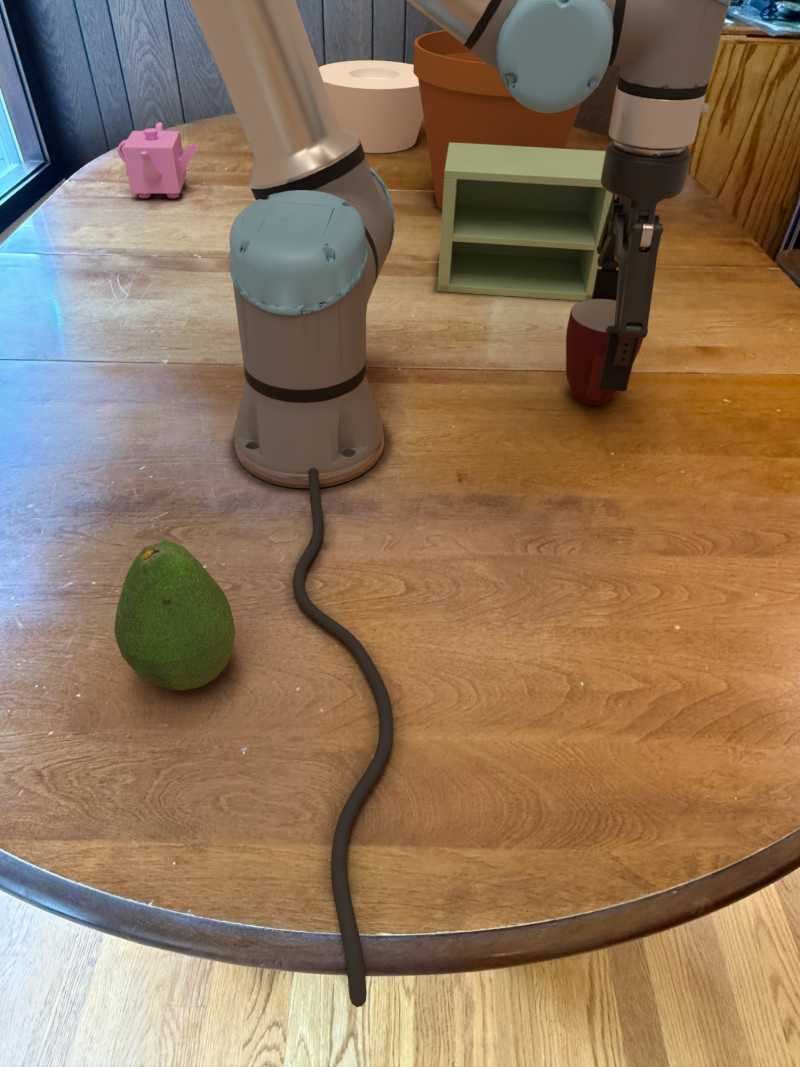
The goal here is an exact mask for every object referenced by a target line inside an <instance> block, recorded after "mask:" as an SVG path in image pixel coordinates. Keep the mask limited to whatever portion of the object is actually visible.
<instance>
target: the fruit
mask: <svg viewBox="0 0 800 1067" xmlns="http://www.w3.org/2000/svg"><path fill="white" fill-rule="evenodd" d="M115 612H116V613H115V619H114V620H115V621H114V628H113V629H114V636H115V640H116V645H117V647H118V649H119V652H120V654H121V657H122V658H123V659H124V660H125V662H126V663H127V664H128V666H129V667H130V668H131V669H132V670H133V671H134V673H136V675H137V676H138V677H140V678H142V679H143V680H145V681H146V682H147V683H148V682H149V683H150V684H153V685H155V686H158V687H160V688H164V689H166V690H174V691H187V690H192V689H193V690H194V689H197V688H200V687H203V686H205V685H206V684H208V683H210V682H212V681H213V680H215V679H216V678H217V677H218V676H219V675H220V674H221V673H222V671H224V669H225V668H226V667H227V665H228V663H229V661H230V658H231V656H232V653H233V650H234V649H233V648H234V643H235V634H236V627H235V626H236V625H235V620H234V615H233V612H232V607H231V604H230V601H229V600H228V598H227V595H226V594H225V592H224V591H223V589H222V587H221V586H220V585H219V583H218V582H217V581H216V579H214V578H213V576H212V575H211V574H210V573H209V572H208V570H207V569H206V568H205V567H204V565H203V564H202V563H201V562H200V561H199V559H197V558H196V557H195V556H194V555H193V554H192V553H191V552H190V551H189V549H187V548H186V546H184V545H181V544H178V543H177V542H176V543H175V542H173V541H170V540H167V539H164V540H161V541H159V542H157V543H154V544H151V545H147V546H144V547H143V548H142V549H141V550H140V552H139V554H138V555H136V557H135V558H134V560H133V562H132V564H131V565H130V567H129V569H128V570H127V573H126V575H125V579H124V581H123V585H122V587H121V591H120V594H119V599H118V602H117V607H116V611H115Z"/></svg>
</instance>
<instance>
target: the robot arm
mask: <svg viewBox="0 0 800 1067" xmlns="http://www.w3.org/2000/svg"><path fill="white" fill-rule="evenodd" d="M188 1H189V4H190V6H191V8H192V12H193V13H194V16H195V18H196V20H197V23H198V25H199V28H200V30H201V33H202V35H203V37H204V39H205V42H206V44H207V47H208V49H209V52H210V54H211V56H212V59H213V61H214V64H215V66H216V69H217V71H218V73H219V76H220V78H221V81H222V83H223V85H224V87H225V90H226V93H227V94H228V98H229V100H230V103H231V104H232V106H233V109H234V112H235V114H236V116H237V118H238V121H239V123H240V127H241V128H242V131H243V133H244V136H245V137H246V140H247V143H248V145H249V148H250V150H251V152H252V155H253V158H254V160H253V165H252V168H251V171H250V174H249V178H248V181H247V182H248V187H249V188H250V191H251V193H252V195H253V197H254V201H253V202H251V203H249V204H248V205H247V206H245V207H244V208H243V209H242V210H241V211H240V212H239V213H238V214H237V216H236V217H235V219H234V220H233V223H232V224H231V227H230V232H229V253H228V262H229V264H228V269H229V273H230V278H231V279H232V287H233V293H234V302H235V309H236V318H237V324H238V332H239V339H240V346H241V347H240V348H241V355H242V362H243V369H244V370H243V371H244V379H245V381H244V386H243V391H242V394H241V397H240V398H241V399H240V403H239V407H238V411H237V415H236V419H235V423H234V429H233V440H234V446H235V453H236V456H237V458H238V461H239V462H240V464H241V465H242V467H243V468H245V470H246V471H248V473H250V474H252V475H253V476H254V477H257V478H258V479H260V480H263V481H265V482H267V483H270V484H273V485H277V486H281V487H286V488H294V489H309V501H310V502H309V503H310V509H311V516H312V532H311V536H310V539H309V542H308V544H307V546H306V548H305V549H304V552H302V554H301V556H300V558H299V560H298V561H297V564H296V566H295V568H294V572H293V576H292V591H293V594H294V597H295V599H296V601H297V603H298V605H299V606H300V608H301V609H302V610H303V612H304V613H305V614H306V615H307V616H309V617H310V619H312V620H313V621H314V622H315V623H317V625H319V626H320V627H322V628H323V629H324V630H326V631H327V632H329V633H330V634H332V635H333V636H334V637H335V638H337V639H338V640H339V641H341V642H342V643H343V644H344V645H345V646H346V647H347V648H348V649H349V650H350V651H351V653H352V654H353V656H354V657H355V659H356V661H357V662H358V664H359V666H360V668H361V670H362V671H363V673H364V675H365V677H366V679H367V680H368V683H369V685H370V687H371V690H372V692H373V695H374V698H375V701H376V706H377V711H378V723H379V724H378V725H379V726H378V727H379V729H378V730H379V731H378V739H377V740H378V741H377V746H376V749H375V752H374V755H373V757H372V760H371V761H370V763H369V765H368V766H367V769H366V770H365V771H364V773H363V775H362V776H361V778H360V779H359V781H358V782H357V783H356V785H355V786H354V788H353V790H352V791H351V793H350V794H349V796H348V798H347V800H346V802H345V803H344V806H343V808H342V810H341V812H340V814H339V817H338V820H337V823H336V826H335V828H334V834H333V838H332V846H331V855H330V856H331V857H330V876H331V887H332V894H333V901H334V907H335V910H336V916H337V921H338V925H339V931H340V936H341V941H342V946H343V951H344V959H345V965H346V966H345V967H346V975H347V986H348V998H349V1000H350V1004H351V1005H353V1006H354V1007H356V1008H361V1007H363V1006H364V1005H365V1003H366V1002H367V998H368V993H367V992H368V990H367V980H366V970H365V961H364V954H363V948H362V942H361V937H360V932H359V927H358V922H357V918H356V914H355V910H354V906H353V905H354V904H353V900H352V896H351V890H350V884H349V875H348V850H349V849H348V848H349V847H348V846H349V841H350V840H349V839H350V835H351V830H352V827H353V824H354V820H355V819H356V816H357V814H358V812H359V811H360V808H361V807H362V805H363V803H364V802H365V800H366V798H367V797H368V795H369V793H370V792H371V790H372V789H373V787H374V786H375V784H376V782H377V781H378V779H379V777H380V776H381V774H382V773H383V770H384V769H385V766H386V764H387V762H388V760H389V756H390V754H391V749H392V745H393V738H394V737H393V736H394V715H393V708H392V703H391V699H390V695H389V692H388V689H387V686H386V684H385V681H384V680H383V678H382V675H381V674H380V672H379V670H378V668H377V666H376V665H375V663H374V661H373V660H372V658H371V656H370V654H369V653H368V651H367V650H366V649H365V647H364V646H363V644H362V643H361V642H360V641H359V640H358V638H356V636H355V635H353V633H351V631H349V630H348V629H347V628H345V626H343V625H342V624H340V623H339V622H338V621H336V620H335V619H333V618H332V617H331V616H329V615H327V614H326V613H325V612H323V611H322V610H321V609H320V608H318V606H316V605H315V604H314V603H313V601H312V600H311V599H310V597H309V595H308V593H307V590H306V585H305V576H306V574H307V571H308V569H309V567H310V565H311V563H312V561H313V559H314V558H315V557H316V555H317V552H318V551H319V548H320V546H321V544H322V539H323V535H324V527H325V526H324V523H325V522H324V512H323V507H322V498H321V497H322V496H321V488H327V487H332V486H336V485H340V484H343V483H346V482H349V481H351V480H354V479H356V478H358V477H360V476H362V475H364V474H365V473H366V472H367V471H369V470H370V469H371V468H372V467H374V465H375V464H376V463H377V462H378V461H379V459H380V457H381V456H382V454H383V452H384V447H385V425H384V422H383V418H382V414H381V413H380V410H379V407H378V405H377V402H376V399H375V396H374V394H373V390H372V388H371V386H370V383H369V380H368V378H367V310H368V304H369V301H370V298H371V296H372V292H373V289H374V288H375V286H376V283H377V280H378V278H379V276H380V274H381V271H382V269H383V266H384V264H385V262H386V260H387V257H388V255H389V253H390V251H391V248H392V246H393V241H394V236H395V210H394V203H393V200H392V197H391V194H390V191H389V189H388V186H387V185H386V184H385V182H384V181H383V179H382V177H381V176H380V175H379V174H378V173H377V172H376V171H375V170H374V169H373V168H372V167H370V165H369V162H368V160H367V157H366V152H364V150H363V147H362V144H361V141H360V139H359V137H358V135H356V134H354V133H352V132H350V131H348V130H346V129H345V128H343V127H341V126H340V125H339V124H338V123H337V120H336V117H335V114H334V111H333V108H332V105H331V102H330V100H329V97H328V94H327V91H326V88H325V85H324V82H323V79H322V76H321V73H320V71H319V64H318V62H317V59H316V56H315V54H314V51H313V48H312V45H311V42H310V39H309V35H308V33H307V30H306V27H305V24H304V22H303V19H302V16H301V13H300V11H299V7H298V4H297V1H296V0H188ZM405 1H406V2H407V3H409V4H410V5H411V6H412V7H414V8H415V9H416V10H417V11H419V12H420V13H422V15H424V16H426V17H427V18H428V19H429V20H430V21H432V22H433V23H434V24H436V25H437V26H439V27H440V28H441V29H442V30H445V31H447V32H448V33H449V34H451V35H452V36H453V37H455V38H456V39H457V40H458V41H460V42H461V43H462V44H464V46H466V47H467V48H468V49H469V50H471V51H472V52H473V53H474V54H475V55H476V56H477V57H479V58H480V59H481V60H482V61H484V62H485V63H486V64H488V65H489V66H490V67H492V68H493V69H494V70H496V71H497V72H498V73H499V75H500V77H501V80H502V82H503V83H504V84H505V86H506V87H507V89H508V91H509V92H510V94H511V95H512V96H513V97H514V98H515V99H516V100H517V101H518V102H519V103H520V104H521V105H523V106H524V107H526V108H528V109H530V110H533V111H536V112H540V113H557V112H562V111H565V110H568V109H570V108H573V107H574V106H576V105H578V104H579V103H581V104H582V102H584V101H585V100H586V99H587V98H588V97H589V96H590V95H591V94H592V93H593V92H594V91H595V90H596V89H597V88H598V87H599V85H600V83H601V81H602V80H603V78H604V75H605V74H606V71H607V68H608V67H612V66H620V68H619V76H618V80H617V85H616V87H615V92H614V97H613V102H612V103H613V104H612V110H611V116H610V121H609V127H608V136H609V137H610V139H611V141H610V142H609V143H608V144H606V147H605V148H606V149H605V151H606V152H605V158H604V163H603V169H602V175H601V184H602V186H603V187H604V188H605V189H606V190H607V191H608V192H610V193H612V194H613V197H612V200H611V203H610V207H609V210H608V214H607V217H606V221H605V224H604V227H603V231H602V234H601V238H600V241H599V245H598V246H597V251H598V254H600V256H599V258H598V261H597V263H598V267H602V268H601V269H597V273H596V279H595V284H594V289H593V294H592V299H610V300H616V310H615V323H614V326H610V325H609V326H608V327H607V328H606V333H609V338H608V343H607V348H606V353H605V357H604V362H603V367H602V372H601V376H600V381H599V390H610V391H617V392H627V390H628V386H629V381H630V377H631V373H632V369H633V365H634V363H633V361H634V362H635V360H634V357H635V353H636V349H637V344H638V340H639V338H643V339H646V337H647V335H648V333H649V328H648V326H649V320H650V313H651V304H652V297H653V290H654V284H655V283H654V282H655V275H656V269H657V268H656V267H657V260H658V252H659V247H660V243H661V238H662V234H663V232H664V227H663V223H660V214H657V213H656V211H657V205H658V203H660V202H661V201H664V200H666V199H667V200H670V199H673V198H674V197H677V196H678V195H680V194H681V193H682V192H683V191H684V188H685V183H686V180H687V175H688V172H689V167H690V163H691V159H692V155H693V153H692V151H691V149H690V146H691V145H693V143H694V142H695V140H696V136H697V132H698V129H699V124H700V122H699V121H700V117H703V116H706V115H707V114H708V113H709V111H710V105H709V103H707V102H705V100H706V95H707V91H708V88H709V84H710V79H711V76H712V73H713V68H714V64H715V60H716V56H717V52H718V48H719V45H720V41H721V37H722V33H723V29H724V27H725V26H724V25H725V22H726V17H727V14H728V10H729V7H731V4H732V0H405ZM617 268H618V269H617Z"/></svg>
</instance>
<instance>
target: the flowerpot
mask: <svg viewBox="0 0 800 1067" xmlns="http://www.w3.org/2000/svg"><path fill="white" fill-rule="evenodd" d="M413 44H414V45H413V65H414V69H413V73H414V74H415V75H416V77H418V81H419V88H420V95H421V102H422V108H423V115H424V116H423V121H424V128H425V136H426V141H427V147H428V154H429V162H430V166H431V167H430V169H431V174H432V176H431V177H432V181H433V189H434V196H435V202H436V203H435V204H436V205H437V207H438V208H439V209H440V210H442V205H443V189H444V173H445V165H446V159H447V153H448V146H449V142H452V143H469V144H487V145H505V146H522V147H540V148H558V149H566V146H567V144H568V141H569V138H570V136H571V132H572V130H573V127H574V124H575V121H576V119H577V116H578V113H579V110H580V108H581V105H582V102H581V103H579V104H578V105H576V106H574V107H573V108H570V109H568V110H565V111H562V112H557V113H540V112H536V111H533V110H530V109H528V108H526V107H524V106H523V105H521V104H520V103H519V102H518V101H517V100H516V99H515V98H514V97H513V96H512V95H511V94H510V92H509V91H508V89H507V87H506V86H505V84H504V83H503V82H502V80H501V77H500V75H499V73H498V72H497V71H496V70H494V69H493V68H492V67H490V66H489V65H488V64H486V63H485V62H484V61H482V60H481V59H480V58H479V57H477V56H476V55H475V54H474V53H473V52H472V51H471V50H469V49H468V48H467V47H466V46H464V44H462V43H461V42H460V41H458V40H457V39H456V38H455V37H453V36H452V35H451V34H449V33H448V32H447V31H445V30H444V29H442V30H437V31H431V32H428V33H424V34H421V35H419V36H417V37H416V38H415V39H414V42H413Z"/></svg>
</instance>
